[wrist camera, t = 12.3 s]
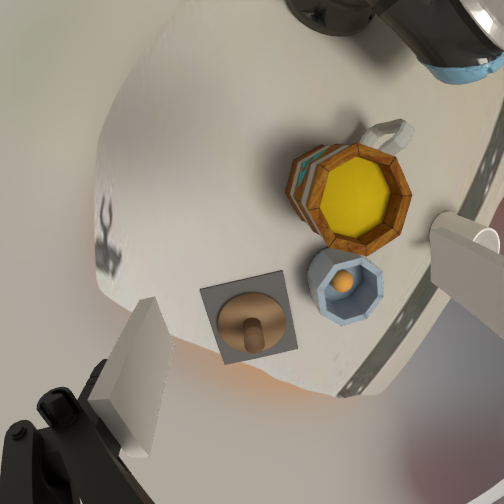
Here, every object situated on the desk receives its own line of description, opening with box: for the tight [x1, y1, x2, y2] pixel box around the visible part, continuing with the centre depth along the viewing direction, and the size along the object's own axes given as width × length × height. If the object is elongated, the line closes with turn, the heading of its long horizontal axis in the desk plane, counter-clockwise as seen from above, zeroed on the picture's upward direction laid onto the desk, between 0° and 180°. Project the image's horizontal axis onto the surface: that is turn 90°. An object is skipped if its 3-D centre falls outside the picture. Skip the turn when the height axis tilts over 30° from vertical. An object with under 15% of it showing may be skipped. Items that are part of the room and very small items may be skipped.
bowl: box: [307, 247, 384, 326], centre depth 50 cm, size 10×10×8 cm
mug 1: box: [285, 119, 414, 256], centre depth 41 cm, size 20×14×15 cm
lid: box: [218, 292, 286, 353], centre depth 52 cm, size 12×12×7 cm
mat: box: [200, 270, 298, 365], centre depth 55 cm, size 16×14×1 cm
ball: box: [331, 270, 353, 292], centre depth 51 cm, size 4×4×4 cm
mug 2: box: [429, 211, 500, 254], centre depth 47 cm, size 12×8×12 cm
